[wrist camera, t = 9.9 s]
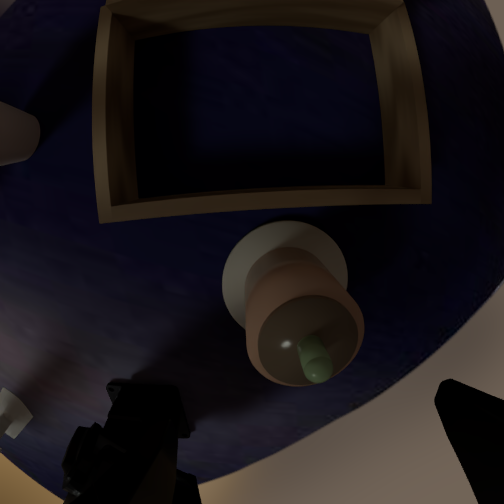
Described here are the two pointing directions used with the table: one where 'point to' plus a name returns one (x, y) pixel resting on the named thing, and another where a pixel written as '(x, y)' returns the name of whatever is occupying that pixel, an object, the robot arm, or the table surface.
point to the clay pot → (299, 319)
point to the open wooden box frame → (257, 14)
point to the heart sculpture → (12, 414)
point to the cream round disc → (268, 240)
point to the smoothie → (17, 134)
